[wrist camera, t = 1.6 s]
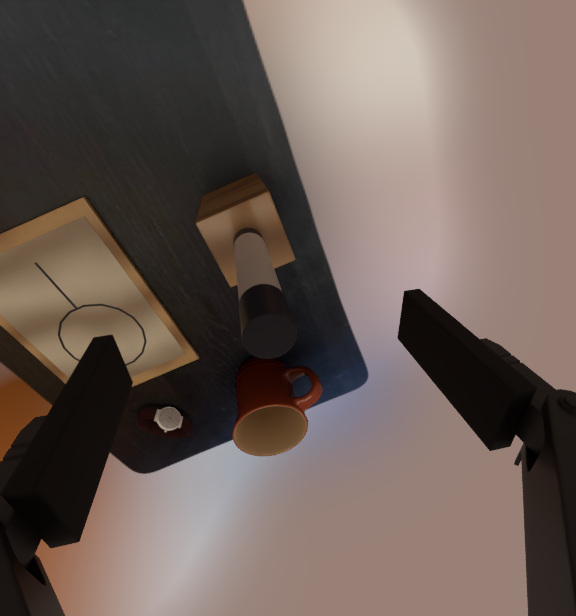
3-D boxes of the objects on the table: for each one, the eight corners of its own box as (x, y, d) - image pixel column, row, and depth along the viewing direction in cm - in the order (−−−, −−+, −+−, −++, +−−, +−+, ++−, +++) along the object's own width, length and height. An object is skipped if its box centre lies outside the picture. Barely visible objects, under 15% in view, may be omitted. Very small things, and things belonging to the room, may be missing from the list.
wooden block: (201, 195, 32) (195, 223, 24) (256, 171, 32) (268, 190, 24) (228, 247, 35) (230, 287, 27) (277, 226, 35) (295, 259, 27)
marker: (230, 228, 24) (238, 318, 13) (262, 225, 25) (296, 309, 14) (234, 259, 26) (245, 363, 15) (265, 255, 26) (298, 354, 15)
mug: (255, 403, 48) (263, 465, 40) (216, 371, 44) (216, 433, 35) (321, 361, 46) (344, 416, 38) (287, 323, 42) (304, 376, 33)
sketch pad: (-63, 261, 31) (-69, 264, 30) (85, 195, 30) (82, 197, 30) (90, 401, 43) (88, 405, 42) (199, 355, 42) (199, 359, 41)
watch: (197, 413, 47) (196, 433, 44) (182, 433, 49) (180, 454, 46) (146, 397, 44) (140, 418, 41) (131, 418, 45) (125, 440, 42)
